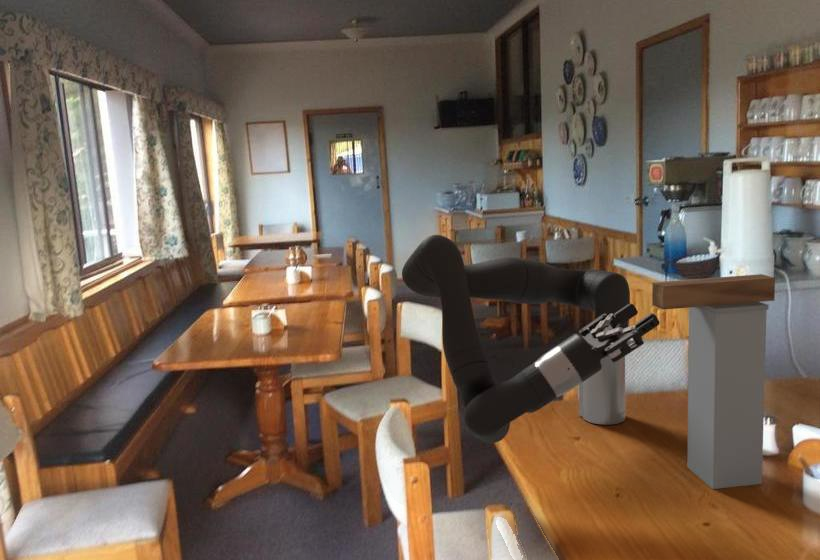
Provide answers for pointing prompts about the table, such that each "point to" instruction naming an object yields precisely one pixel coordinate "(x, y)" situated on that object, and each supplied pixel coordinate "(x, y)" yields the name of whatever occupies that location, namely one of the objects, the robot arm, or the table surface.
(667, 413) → the table surface
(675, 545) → the table surface
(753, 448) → the stand
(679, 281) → the walnut bar
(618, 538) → the table surface
